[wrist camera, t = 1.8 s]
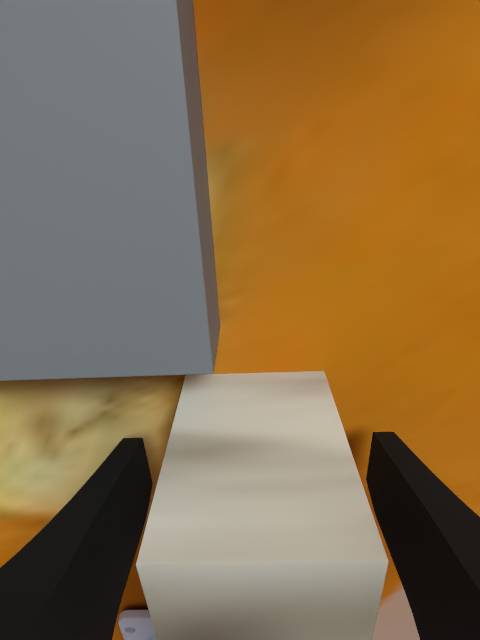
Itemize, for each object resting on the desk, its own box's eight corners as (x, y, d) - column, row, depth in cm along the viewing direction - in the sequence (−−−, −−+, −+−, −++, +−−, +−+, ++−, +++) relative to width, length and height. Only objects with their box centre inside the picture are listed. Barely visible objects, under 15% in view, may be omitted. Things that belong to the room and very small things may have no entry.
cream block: (317, 470, 14) (363, 681, 8) (198, 472, 14) (169, 681, 9) (323, 370, 12) (388, 562, 6) (185, 374, 12) (136, 565, 7)
